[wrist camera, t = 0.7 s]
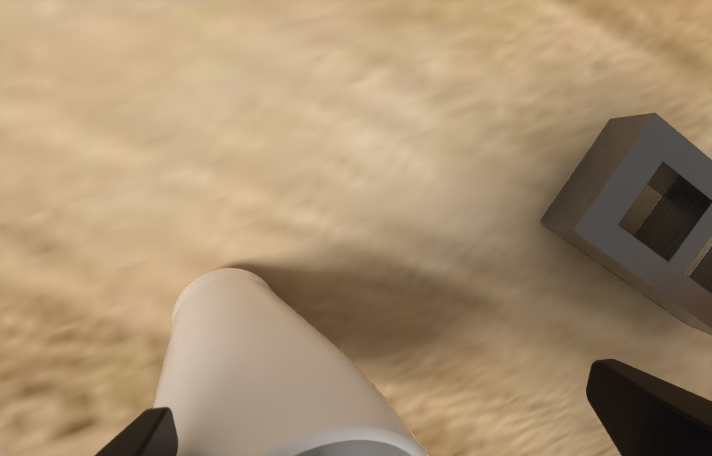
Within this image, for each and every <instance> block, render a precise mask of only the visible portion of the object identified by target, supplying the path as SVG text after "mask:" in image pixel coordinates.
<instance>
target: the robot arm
mask: <svg viewBox="0 0 712 456" xmlns="http://www.w3.org/2000/svg"><path fill="white" fill-rule="evenodd" d="M586 395H587V398H588V401H589V403H590V404H591V406H592V408H593V409H594V411H595V413H596V414H597V416H598V418H599V419H600V421H601V423H602V424H603V426H604V427H605V429H606V431H607V432H608V434H609V436H610V437H611V439H612V441H613V442H614V444H615V446H616V447H617V449H618V451H619V452H620V454H621V456H712V401H710V400H707V399H705V398H703V397H701V396H698V395H696V394H694V393H691V392H689V391H687V390H684V389H682V388H680V387H677V386H675V385H673V384H670V383H668V382H666V381H664V380H661V379H659V378H657V377H654V376H652V375H650V374H647V373H645V372H643V371H640V370H638V369H636V368H633V367H631V366H629V365H627V364H624V363H622V362H620V361H617V360H615V359H603V360H596V361H594V362H593V363H592V365H591V369H590V374H589V378H588V383H587V387H586ZM177 451H178V436H177V431H176V427H175V422H174V418H173V414H172V411H171V409H170V408H169V407H158V408H150V409H147V410H145V411H144V412H143V413H142V414H141V415H140V416H138V417H137V418H136V419H135V420H134V421H133V422H132V423H131V424H129V425H128V426H127V427H126V428H125V429H124V430H123V431H122V432H120V433H119V434H118V435H117V436H116V437H115V438H114V439H113V440H111V441H110V442H109V443H108V444H107V445H106V446H105V447H104V448H102V449H101V450H100V451H99V452H98V453H97V454H96V455H95V456H177Z"/></svg>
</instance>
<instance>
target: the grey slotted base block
mask: <svg viewBox="0 0 712 456" xmlns="http://www.w3.org/2000/svg"><path fill="white" fill-rule="evenodd" d="M646 184H648V185H650V186H651V187H652V188H654V189H655V190H656V191H657V192H659V193H660V194H661V195H663V198H662V199H661V201H660V202H659V203H658V205H657V206H656V208H655V209H654V210H653V212H652V213H651V215H650V216H649V217H648V219H647V220H646V222H645V223H644V224H643V226H642V227H641V229H640V230H639V231H638V233H637V234H636V236H635V237H634V236H632V235H631V234H629V233H628V232H627V231H625V230H624V229H623V228H621V227H620V226H619V225H618V224H619V223H620V221H621V220H622V218H623V217H624V216H625V214H626V213H627V211H628V210H629V208H630V207H631V206H632V204H633V203H634V201H635V200H636V199H637V197H638V196H639V194H640V193H641V191H642V190H643V189H644V187H645V186H646ZM540 222H541V223H542V224H543V225H545V226H546V227H548V228H549V229H551V230H552V231H553V232H555V233H556V234H558V235H559V236H561V237H562V238H563V239H565V240H566V241H568V242H569V243H571V244H572V245H573V246H575V247H576V248H578V249H579V250H581V251H582V252H584V253H585V254H586V255H588V256H589V257H591V258H592V259H594V260H595V261H596V262H598V263H599V264H601V265H602V266H604V267H605V268H606V269H608V270H609V271H611V272H612V273H614V274H615V275H616V276H618V277H619V278H621V279H622V280H624V281H625V282H626V283H628V284H629V285H631V286H632V287H634V288H635V289H637V290H638V291H639V292H641V293H642V294H644V295H645V296H647V297H648V298H649V299H651V300H652V301H654V302H655V303H657V304H658V305H659V306H661V307H662V308H664V309H665V310H667V311H668V312H669V313H671V314H672V315H674V316H675V317H677V318H678V319H679V320H681V321H682V322H684V323H685V324H687V325H689V326H691V327H694V328H696V329H698V330H701V331H703V332H705V333H708V334H710V335H712V248H711V250H710V251H709V252H708V254H707V255H706V256H705V258H704V259H703V260H702V262H701V263H700V265H699V266H698V267H697V269H696V270H695V271H694V273H693V274H692V275H691V277H690V278H689V277H688V276H687V275H685V274H684V271H685V270H686V269H687V267H688V266H689V265H690V263H691V262H692V260H693V259H694V258H695V256H696V255H697V254H698V252H699V251H700V250H701V248H702V247H703V245H704V244H705V243H706V241H707V240H708V239H709V237H710V236H711V235H712V160H711V159H710V158H709V157H707V156H706V155H705V154H704V153H703V152H702V151H700V150H699V149H698V148H697V147H696V146H694V145H693V144H692V143H691V142H690V141H688V140H687V139H686V138H685V137H684V136H682V135H681V134H680V133H679V132H678V131H676V130H675V129H674V128H673V127H672V126H670V125H669V124H668V123H667V122H666V121H664V120H663V119H662V118H661V117H660V116H658V115H657V114H656V113H650V114H643V115H636V116H628V117H621V118H614V119H610V120H609V122H608V123H607V125H606V126H605V128H604V129H603V130H602V132H601V133H600V135H599V136H598V138H597V139H596V141H595V142H594V144H593V145H592V146H591V148H590V149H589V151H588V152H587V154H586V155H585V157H584V158H583V160H582V161H581V163H580V164H579V165H578V167H577V168H576V170H575V171H574V173H573V174H572V176H571V177H570V179H569V180H568V181H567V183H566V184H565V186H564V187H563V189H562V190H561V192H560V193H559V195H558V196H557V198H556V199H555V200H554V202H553V203H552V205H551V206H550V208H549V209H548V211H547V212H546V214H545V215H544V216H543V218H542V219H541V221H540Z"/></svg>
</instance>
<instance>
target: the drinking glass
mask: <svg viewBox="0 0 712 456" xmlns="http://www.w3.org/2000/svg"><path fill="white" fill-rule="evenodd" d="M158 407H169V408H170V409H171V411H172V414H173V418H174V422H175V427H176V431H177V436H178V451H177V456H430V455H429V453H428V452H427V451H426V450H425V448H424V447H423V446H422V445H421V444H420V442H419V441H418V440H417V438H416V437H415V436H414V434H413V433H412V431H411V430H410V429H409V428H408V426H407V425H406V424H405V422H404V421H403V420H402V418H401V417H400V416H399V415H398V413H397V412H396V411H395V410H394V408H393V407H392V406H391V404H390V403H389V402H388V401H387V400H386V398H385V397H384V396H383V395H382V393H381V392H380V391H379V390H378V389H377V388H376V386H375V385H374V384H373V383H372V382H371V381H370V380H369V379H368V377H367V376H366V375H365V374H364V373H363V372H362V371H361V370H360V369H359V368H358V367H357V366H356V365H355V364H354V363H353V362H352V361H351V360H350V359H349V358H348V357H347V356H346V355H345V354H344V353H343V352H342V351H341V350H340V349H339V348H337V347H336V346H335V345H334V344H333V343H332V342H331V341H330V340H328V339H327V338H326V337H325V336H324V335H323V334H321V333H320V332H319V331H318V330H317V329H316V328H314V327H313V326H312V325H311V324H310V323H309V322H307V321H306V320H305V319H304V318H303V317H302V316H300V315H299V314H298V313H297V312H296V311H295V310H293V309H292V308H291V307H290V306H289V305H288V304H287V303H285V302H284V301H283V300H282V299H281V298H280V297H279V296H278V295H276V294H275V293H274V292H273V290H272V289H271V288H270V286H269V285H268V284H267V283H266V282H265V281H264V280H263V279H262V278H260V277H259V276H257V275H256V274H254V273H252V272H249V271H247V270H243V269H238V268H222V269H217V270H213V271H210V272H208V273H205V274H203V275H201V276H200V277H198V278H196V279H195V280H194V281H192V282H191V283H190V284H189V285H188V286H187V287H186V288H185V289H184V290H183V292H182V293H181V294H180V296H179V297H178V299H177V301H176V303H175V306H174V309H173V313H172V319H171V332H170V337H169V341H168V346H167V350H166V354H165V358H164V363H163V367H162V371H161V375H160V379H159V383H158V387H157V391H156V395H155V399H154V403H153V407H152V408H158Z"/></svg>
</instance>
